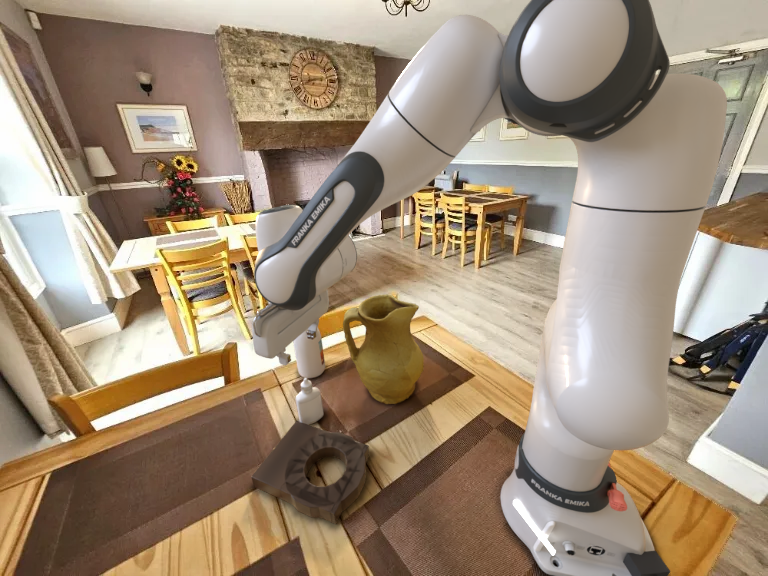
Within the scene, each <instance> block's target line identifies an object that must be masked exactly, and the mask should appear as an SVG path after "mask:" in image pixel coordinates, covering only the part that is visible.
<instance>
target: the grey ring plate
mask: <svg viewBox="0 0 768 576" xmlns="http://www.w3.org/2000/svg"><path fill="white" fill-rule="evenodd" d="M326 458H336V459H338V460H341V461H342V462H343V463H344V465H345V470H344V472H343V474H342V475H341V476H340V477H339V478H338V479H337V480H336V481H335V482H333V483H330V484H328V485H323V486H318V485H315V484H313V483H311V482H310V481H309V479H308V474H309V471H310V469H311V468H312V466H313V465H315V464H316V463H317V462H318V461H320V460H322V459H323V460H324V459H326ZM369 458H370V446H369V445H368V444H366V443H363V442H360V441H357V440H356V439H354V437H352V436H351V435H347V434H344V433H341V432H337V431H336V432H335V431H333V432H330V431H328V430H325V429H322V428H319V427H316V426H313V425H311V424H309V425H307V424H305V423H302V422H300V420H296V421H294V423H293V424H292V425H291V426H290V427H289V429H288V431H287V432H286V433H285V434H284V435H283V436H282V438H281V439H280V440H279V442H278V443H277V444H276V445H275V446H274V448H273V449H272V450H271V451H270V453H269V454H267V456H266V457H265V458H264V460H263V461H262V462H261V463H260V465H259V466H258V468H257V469H256V470H255V471H254V472H253V474H252V475H251V476H250V478H251V481H252V484H253V487H254V488H256V489H258V490H261V491H262V492H264V493H267V494H269V495H272V496H273V497H275V498H278V499H280V500H282V501H284V502H286V503H289V504H290V505H292V506H293V507H294V508H295V510H296V511H297V512H298V513H300V514H303V515H305V516H306V517H307V516H308V517H309V518H312V519H313V518H321V519H324V520H325V521H328V522H329V523H332V524H335V525H337V523H338V521H339V519H340V517H341V515H342V514H343V513H342V512H344V511H346V510H347V509H348V508H349V507H350V506H351V505H352V504H353V503H354V502H355V501H356V500H357V499H358V498H359V497H360V495H361V493H362V491H363V488H364V486H365V484H366V476H367V462H368V459H369Z"/></svg>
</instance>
